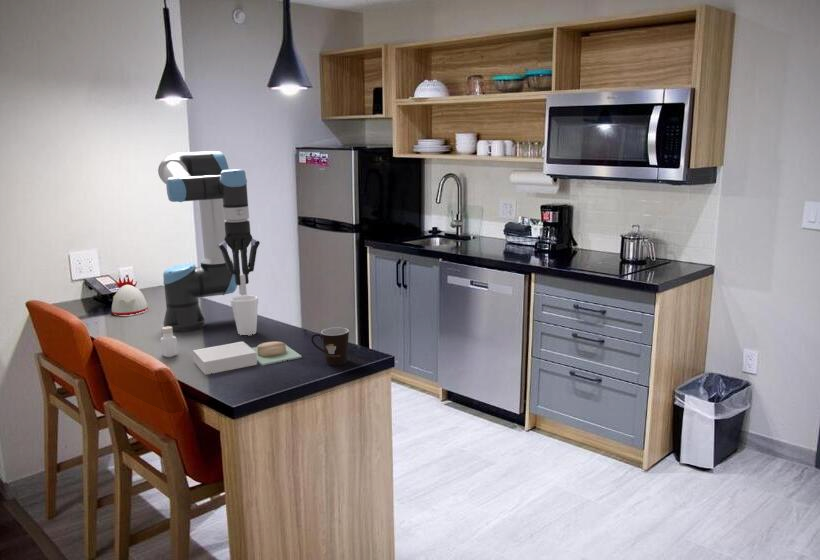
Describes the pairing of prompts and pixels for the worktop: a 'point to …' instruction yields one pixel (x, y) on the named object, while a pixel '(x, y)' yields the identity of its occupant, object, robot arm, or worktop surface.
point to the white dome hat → (128, 299)
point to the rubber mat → (277, 357)
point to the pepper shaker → (168, 342)
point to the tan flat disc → (271, 349)
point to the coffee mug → (334, 345)
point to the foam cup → (245, 313)
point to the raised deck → (224, 357)
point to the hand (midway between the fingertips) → (243, 294)
